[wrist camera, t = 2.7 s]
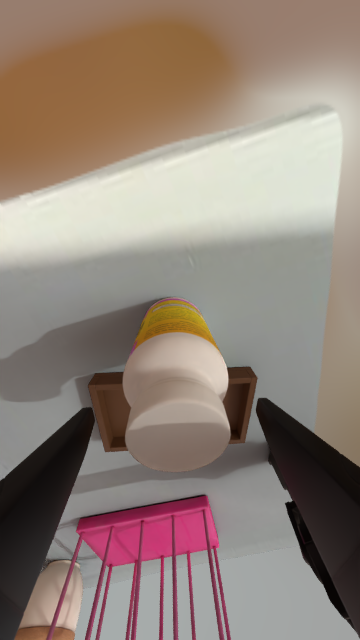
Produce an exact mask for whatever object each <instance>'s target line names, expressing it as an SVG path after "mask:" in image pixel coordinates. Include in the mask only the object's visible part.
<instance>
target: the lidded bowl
mask: <svg viewBox="0 0 360 640" xmlns="http://www.w3.org/2000/svg"><path fill="white" fill-rule="evenodd" d="M70 564H71V561H70V560H58V561H54V562H51V563H49V564H48V566H47V568H46V569H45V570H44V571H43V572H42V573H41V574H40V575H39V576H38V579H37V581H36V584H35V587H34V589H33V592H32V594H31V597H30V600H29V602H28V605H27V607H26V610H25V612H24V616H23V618H22V621H21V623H20V626H19V628H18V631H17V634H16V636H15V639H14V640H46V639H47V636H48V633H49V629H50V626H51V623H52V620H53V617H54V614H55V611H56V608H57V605H58V601H59V598H60V595H61V592H62V589H63V586H64V583H65V580H66V577H67V574H68V571H69V567H70ZM82 595H83V580H82V575H81V572H80V565H79V564H78V563H77V562H75V565H74V568H73V571H72V575H71V578H70V581H69V584H68V588H67V591H66V594H65V597H64V600H63V604H62V607H61V610H60V613H59V616H58V620H57V623H56V626H55V629H54V632H53V636H52V639H51V640H74V637H75V630H76V626H77V622H78V618H79V613H80V608H81V603H82Z"/></svg>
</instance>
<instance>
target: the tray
mask: <svg viewBox="0 0 360 640" xmlns="http://www.w3.org/2000/svg"><path fill="white" fill-rule="evenodd" d="M227 371H228V388H227V392H226V395H225V397H224V399H223V401H222V403H223V405H224V409H225V412H226V415H227V418H228V422H229V425H230V433H231V435H230V440H229V443H228V444H238V443H245V439H246V434H247V429H248V424H249V419H250V414H251V409H252V404H253V399H254V393H255V388H256V383H257V376H256V375H255V373H254V372H253V370H252V369H251V367H234V368H227ZM123 373H124V372H116V373H95V374H94V376H93V378H92V380H91V381H90V383H89V384H88V388H89V392H90V396H91V400H92V403H93V407H94V411H95V415H96V419H97V423H98V427H99V430H100V434H101V438H102V442H103V446H104V450H105V452H110V451H111V452H115V451H128V449H127V446H126V442H125V433H126V428H127V423H128V419H129V414H130V410H131V406H130V405H129V403H128V401H127V399H126V397H125V394H124V390H123Z"/></svg>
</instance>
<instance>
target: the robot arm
mask: <svg viewBox="0 0 360 640" xmlns="http://www.w3.org/2000/svg"><path fill="white" fill-rule="evenodd" d="M256 413H257V416H258V419H259V422H260V424H261V427H262V430H263V433H264V435H265V438H266V441H267V443H268V445H269V448H270V450H271V453H270V456H269V460H268V462H269V464H270V465H272V466H273V468H274V470H275V472H276V474H277V476H278V478H279V480H280V482H281V484H282V486H283V488H284V489H285V490H288V492H289V494H290V496H291V498H292V500H293V501H292V502H287V503H285V505H286V508H287V512H288V515H289V518H290V521H291V523H292V526H293V529H294V531H295V534H296V537H297V539H298V542H299V545H300V549H301V552H302V556H303V558H304V560H305V562H306V563H307V564H308V565H310V566H311V568H312V570H313V572H314V573H315V575H316V576H317V578H318V579H319V581H320V582H321V583H322V584H323V585H324V588H325V590H326V592H327V595H328V597H329V599H330V601H331V603H332V604H333V605H334V607H335V608H336V609H337V610H338V612H339V613H340V614H341V616H342V617H343V618H344V619H346V620H347V621H348V623H349V624H350V625H351V626H352V628H353V629H354V630H355V631H356V632H357V634H358V636H359V638H360V467H359V466H357V465H356V464H354V463H353V462H352V461H350V460H349V459H348V458H346V457H345V456H344V455H342V454H340V453H339V452H338V451H337V450H336V449H334V448H333V447H331V446H330V445H329V444H327V443H326V442H325V441H323V440H322V439H321V438H319V437H318V436H317V435H315V434H314V433H313V432H311V431H310V430H309V429H307V428H306V427H305V426H303V425H302V424H301V423H299V422H298V421H297V420H295V419H294V418H293V417H291V416H290V415H289V414H287V413H286V412H285V411H283V410H282V409H281V408H279V407H278V406H277V405H275V404H274V403H273V402H271V401H270V400H269V399H267V398H259V399H258V401H257V406H256ZM94 422H95V417H94V414H93V410H92V408H91V407H86V408H82V409H81V410H80V411H79V412H78V413H76V414H75V415H74V416H73V417H72V418H71V419H70V420H69V421H67V422H66V423H65V424H64V425H63V426H62V427H61V428H60V429H58V430H57V431H56V432H55V433H54V434H53V435H52V436H51V437H49V438H48V439H47V440H46V441H45V442H44V443H43V444H42V445H40V446H39V447H38V448H37V449H36V450H35V451H34V452H33V453H31V454H30V455H29V456H28V457H27V458H26V459H25V460H24V461H22V462H21V463H20V464H19V465H18V466H17V467H16V468H14V469H13V470H12V471H11V472H10V473H9V474H8V475H7V476H6V477H5V478H3V479H2V480H1V481H0V640H14V639H15V636H16V634H17V631H18V628H19V626H20V623H21V621H22V618H23V616H24V612H25V610H26V607H27V605H28V602H29V600H30V597H31V594H32V592H33V589H34V587H35V584H36V581H37V579H38V576H39V574H40V571H41V569H42V566H43V563H44V561H45V558H46V556H47V553H48V550H49V548H50V545H51V543H52V540H53V537H54V535H55V532H56V530H57V527H58V525H59V522H60V519H61V517H62V514H63V512H64V509H65V506H66V504H67V501H68V499H69V496H70V494H71V491H72V488H73V486H74V483H75V481H76V478H77V475H78V473H79V470H80V468H81V465H82V462H83V460H84V457H85V454H86V451H87V447H88V444H89V440H90V437H91V433H92V430H93V426H94Z"/></svg>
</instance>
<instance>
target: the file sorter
mask: <svg viewBox="0 0 360 640" xmlns="http://www.w3.org/2000/svg"><path fill="white" fill-rule="evenodd" d="M76 532H77V533H78V534H79V535H80V537H79V540H78V543H77V546H76V549H75V552H74V555H73V558H72V561H71V564H70V567H69V571H68V574H67V577H66V580H65V583H64V586H63V589H62V592H61V595H60V598H59V601H58V605H57V608H56V611H55V614H54V617H53V620H52V623H51V626H50V629H49V633H48V636H47V639H46V640H51V639H52V636H53V632H54V629H55V626H56V623H57V620H58V616H59V613H60V610H61V607H62V604H63V600H64V597H65V594H66V591H67V588H68V584H69V581H70V578H71V575H72V571H73V568H74V565H75V562H76V558H77V555H78V552H79V549H80V546H81V543H82V539H83V540H84V541H85V542H86V543H87V544H88V545H89V547H90V548H91V549H92V550H93V551H94V552H95V553H96V554H97V556H98V557H99V558H100V559H101V560H102V561H103V563H102V568H101V572H100V576H99V581H98V585H97V589H96V594H95V598H94V602H93V607H92V611H91V616H90V620H89V624H88V628H87V633H86V637H85V640H90V637H91V631H92V627H93V622H94V618H95V613H96V609H97V604H98V600H99V596H100V591H101V586H102V582H103V577H104V572H105V568H106V565H107V566H108V567H109V572H108V577H107V582H106V587H105V593H104V599H103V603H102V609H101V614H100V619H99V624H98V629H97V635H96V640H99V637H100V632H101V626H102V621H103V615H104V610H105V604H106V599H107V593H108V588H109V582H110V577H111V572H112V567H113V566H119V565H125V564H130V563H135V567H134V575H133V584H132V591H131V600H130V608H129V616H128V624H127V632H126V640H129V635H130V627H131V617H132V609H133V600H134V610H133V621H132V632H131V633H132V634H131V640H135V638H136V626H137V614H138V613H137V612H138V601H139V587H140V575H141V562H142V561H148V560H154V559H159V558H161V583H160V584H161V585H160V587H161V588H160V630H159V631H160V632H159V640H163V584H164V558H165V557H170V556H172V569H173V628H174V629H173V631H174V632H173V633H174V640H178V617H177V616H178V615H177V614H178V613H177V580H176V555H182V554H187V560H188V577H189V591H190V609H191V625H192V640H196V635H195V621H194V607H193V592H192V577H191V563H190V553H193V552H198V551H203V550H208V557H209V565H210V572H211V579H212V587H213V594H214V602H215V609H216V616H217V624H218V631H219V638H220V640H224V635H223V628H222V622H221V615H220V608H219V601H218V595H217V588H216V581H215V574H214V567H213V560H212V553H211V549H214V556H215V562H216V568H217V575H218V582H219V588H220V594H221V601H222V608H223V614H224V620H225V627H226V632H227V640H231V637H230V631H229V625H228V619H227V613H226V606H225V601H224V594H223V588H222V582H221V576H220V570H219V563H218V557H217V551H216V548H219V541H218V536H217V532H216V528H215V524H214V520H213V516H212V512H211V509H210V505H209V501H208V497H207V496H202V497H197V498H191V499H186V500H180V501H175V502H169V503H164V504H158V505H153V506H147V507H142V508H137V509H131V510H126V511H121V512H115V513H110V514H105V515H99V516H94V517H88V518H83V519H80V520H79V524H78V527H77V530H76ZM136 574H137V575H136ZM135 583H136V586H135ZM134 592H135V597H134Z"/></svg>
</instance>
